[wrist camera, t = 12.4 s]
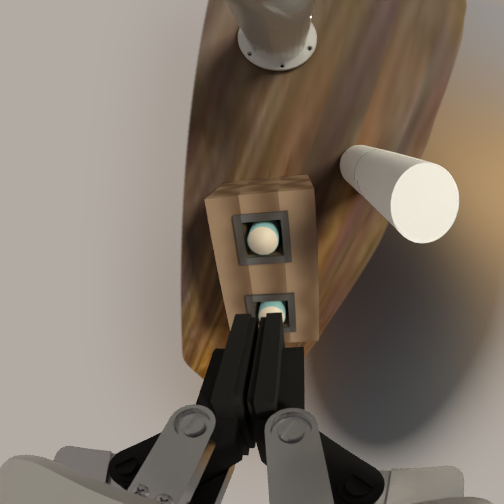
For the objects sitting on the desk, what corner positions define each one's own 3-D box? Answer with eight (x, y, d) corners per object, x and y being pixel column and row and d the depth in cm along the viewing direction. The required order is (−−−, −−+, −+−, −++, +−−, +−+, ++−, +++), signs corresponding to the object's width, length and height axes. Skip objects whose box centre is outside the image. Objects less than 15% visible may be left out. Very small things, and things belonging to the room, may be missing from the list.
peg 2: (263, 268, 52) (256, 306, 41) (285, 267, 51) (284, 305, 40) (266, 287, 54) (259, 328, 43) (287, 286, 53) (286, 327, 42)
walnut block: (243, 303, 57) (232, 345, 45) (224, 182, 47) (203, 200, 36) (314, 300, 55) (318, 342, 43) (307, 174, 45) (314, 189, 34)
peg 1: (255, 203, 47) (245, 227, 36) (279, 201, 47) (276, 224, 36) (258, 226, 49) (249, 256, 38) (282, 224, 48) (279, 254, 37)
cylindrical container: (347, 192, 45) (400, 253, 23) (333, 152, 43) (380, 176, 20) (385, 179, 44) (463, 228, 21) (372, 139, 41) (450, 153, 19)
